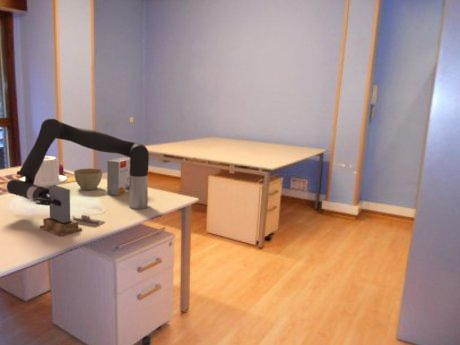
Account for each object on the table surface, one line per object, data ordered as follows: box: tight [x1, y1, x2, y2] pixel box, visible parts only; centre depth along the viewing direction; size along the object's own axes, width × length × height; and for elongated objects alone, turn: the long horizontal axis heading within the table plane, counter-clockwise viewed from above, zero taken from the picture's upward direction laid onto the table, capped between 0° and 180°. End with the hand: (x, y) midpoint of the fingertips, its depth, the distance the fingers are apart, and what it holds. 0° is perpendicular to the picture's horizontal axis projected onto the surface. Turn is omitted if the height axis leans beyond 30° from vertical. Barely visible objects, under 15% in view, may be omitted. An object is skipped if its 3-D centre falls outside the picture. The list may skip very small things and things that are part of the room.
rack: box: [39, 216, 83, 238], centre depth 167 cm, size 15×10×4 cm, turn 57°
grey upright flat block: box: [49, 185, 71, 223], centre depth 165 cm, size 10×3×14 cm, turn 57°
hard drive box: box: [106, 156, 130, 197], centre depth 228 cm, size 16×8×20 cm, turn 161°
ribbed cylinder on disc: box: [19, 155, 68, 189], centre depth 223 cm, size 25×25×19 cm
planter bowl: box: [73, 167, 104, 191], centre depth 233 cm, size 16×16×11 cm
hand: (63, 202), depth 163 cm, fingers closed on grey upright flat block, 3 cm apart
